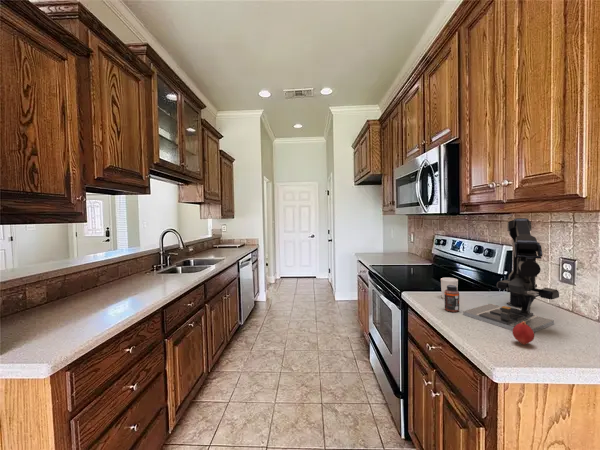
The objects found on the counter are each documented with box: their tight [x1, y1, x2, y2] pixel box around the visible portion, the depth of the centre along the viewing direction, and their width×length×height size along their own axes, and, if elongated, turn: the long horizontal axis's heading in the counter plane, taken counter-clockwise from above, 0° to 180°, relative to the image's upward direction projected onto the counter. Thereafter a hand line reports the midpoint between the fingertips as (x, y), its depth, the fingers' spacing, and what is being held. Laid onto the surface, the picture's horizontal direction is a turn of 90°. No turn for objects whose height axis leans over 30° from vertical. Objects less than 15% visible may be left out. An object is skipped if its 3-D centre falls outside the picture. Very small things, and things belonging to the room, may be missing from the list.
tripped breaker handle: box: [501, 305, 512, 314], centre depth 118 cm, size 2×2×3 cm
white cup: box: [440, 277, 459, 300], centre depth 147 cm, size 8×8×10 cm
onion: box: [512, 321, 535, 346], centre depth 96 cm, size 6×6×8 cm
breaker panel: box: [462, 303, 555, 333], centre depth 118 cm, size 20×24×5 cm
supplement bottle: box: [444, 285, 460, 313], centre depth 130 cm, size 6×6×11 cm
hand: (525, 310), depth 112 cm, fingers closed
